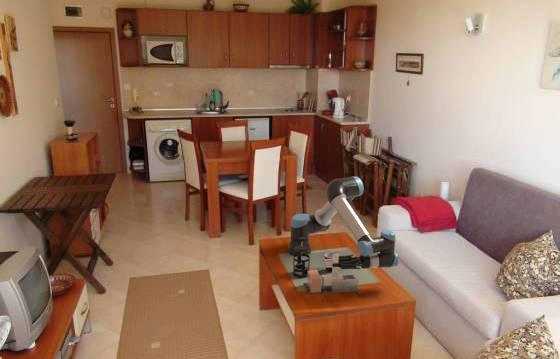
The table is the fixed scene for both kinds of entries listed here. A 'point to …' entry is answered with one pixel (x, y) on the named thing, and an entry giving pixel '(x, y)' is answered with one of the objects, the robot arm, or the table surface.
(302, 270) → the french press
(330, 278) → the bar
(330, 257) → the coffee mug
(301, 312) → the table surface
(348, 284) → the slotted sleeve
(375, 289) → the table surface
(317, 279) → the socket block
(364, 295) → the table surface
